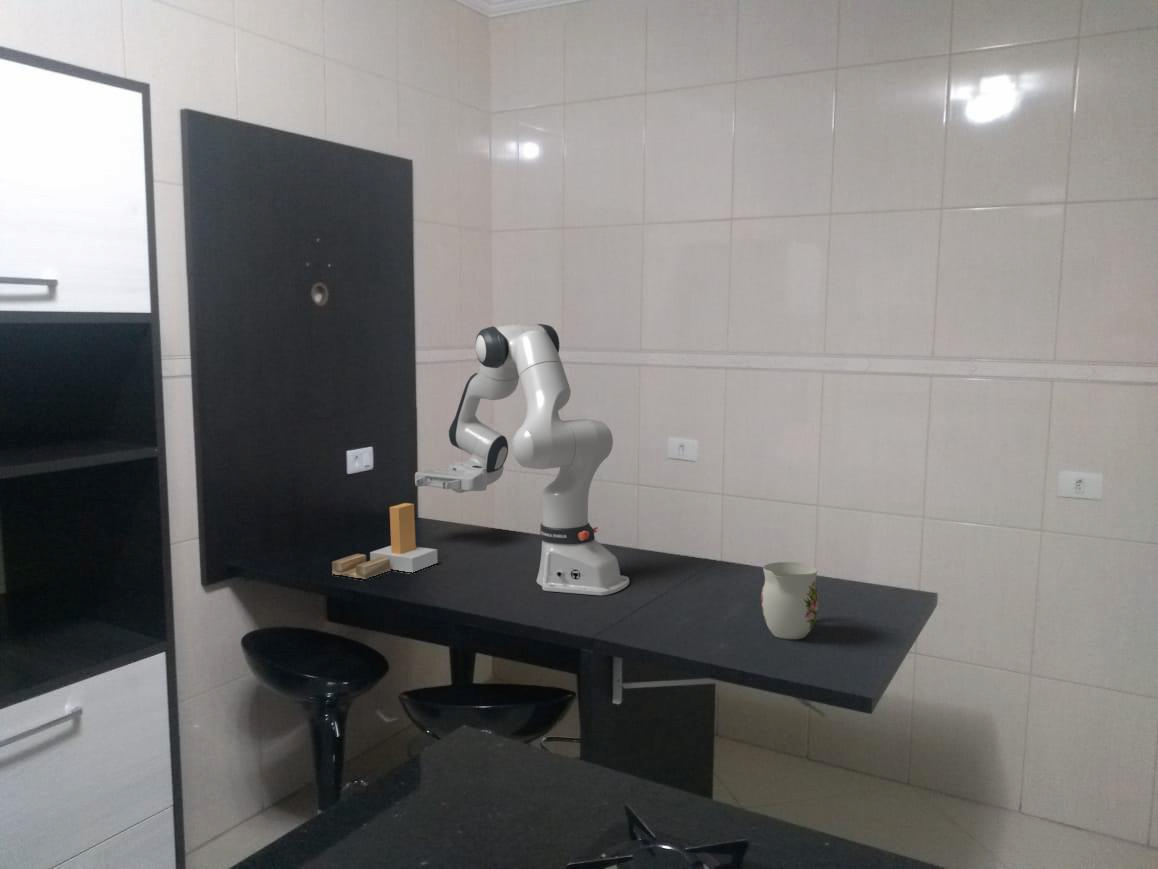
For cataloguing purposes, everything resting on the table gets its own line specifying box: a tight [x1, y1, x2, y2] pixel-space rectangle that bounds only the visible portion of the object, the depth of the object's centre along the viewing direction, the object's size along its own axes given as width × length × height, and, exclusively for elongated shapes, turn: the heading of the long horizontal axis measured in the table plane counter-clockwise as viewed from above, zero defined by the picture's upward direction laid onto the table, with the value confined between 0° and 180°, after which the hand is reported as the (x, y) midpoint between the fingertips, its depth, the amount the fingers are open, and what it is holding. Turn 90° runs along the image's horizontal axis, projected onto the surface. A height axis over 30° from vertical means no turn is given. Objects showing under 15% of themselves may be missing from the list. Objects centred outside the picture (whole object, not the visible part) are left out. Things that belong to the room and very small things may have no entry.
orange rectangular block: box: [389, 502, 417, 554], centre depth 227 cm, size 3×6×12 cm, turn 151°
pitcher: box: [760, 561, 820, 640], centre depth 173 cm, size 11×18×14 cm, turn 152°
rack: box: [331, 553, 391, 579], centre depth 221 cm, size 11×9×4 cm
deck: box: [369, 545, 439, 573], centre depth 228 cm, size 14×10×4 cm
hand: (430, 484), depth 236 cm, fingers open, 8 cm apart
